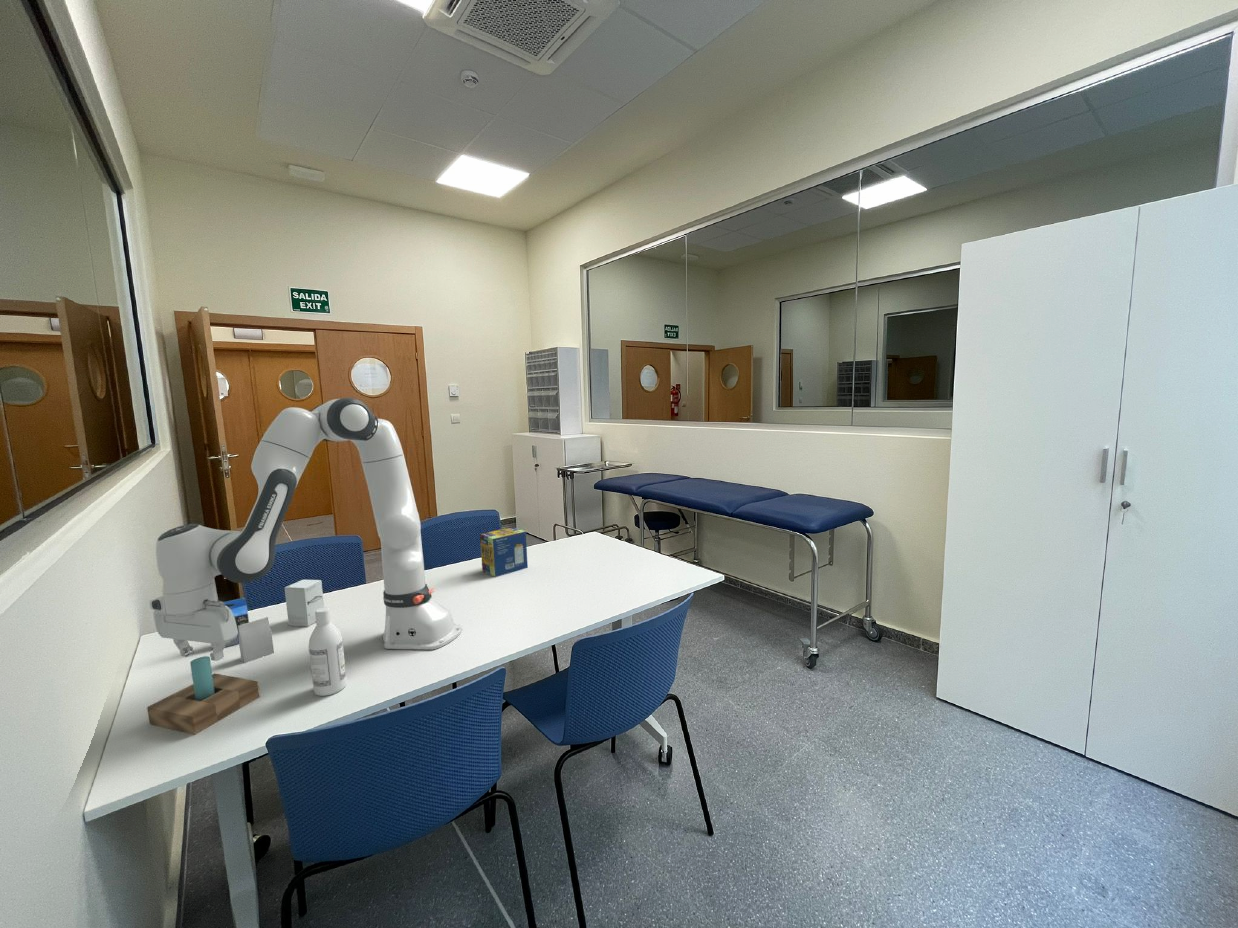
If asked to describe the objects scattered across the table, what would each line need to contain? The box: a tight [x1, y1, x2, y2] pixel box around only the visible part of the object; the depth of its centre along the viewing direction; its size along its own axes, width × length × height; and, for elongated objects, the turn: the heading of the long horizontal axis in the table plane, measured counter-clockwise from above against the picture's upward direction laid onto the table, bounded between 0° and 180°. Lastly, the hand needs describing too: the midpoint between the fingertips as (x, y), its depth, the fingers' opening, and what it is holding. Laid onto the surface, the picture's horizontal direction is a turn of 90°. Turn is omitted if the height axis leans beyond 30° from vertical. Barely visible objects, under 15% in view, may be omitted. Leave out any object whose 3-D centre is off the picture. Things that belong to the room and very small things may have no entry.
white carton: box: [238, 616, 275, 664], centre depth 139 cm, size 4×7×10 cm, turn 139°
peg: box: [190, 655, 215, 701], centre depth 114 cm, size 3×3×12 cm
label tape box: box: [222, 597, 250, 648], centre depth 147 cm, size 9×4×12 cm, turn 128°
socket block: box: [146, 673, 260, 735], centre depth 115 cm, size 14×14×4 cm
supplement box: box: [284, 579, 325, 628], centre depth 161 cm, size 7×7×13 cm
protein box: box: [479, 526, 528, 578], centre depth 204 cm, size 10×15×16 cm
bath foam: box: [308, 606, 348, 697], centre depth 121 cm, size 7×7×20 cm
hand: (202, 657), depth 114 cm, fingers open, 8 cm apart
